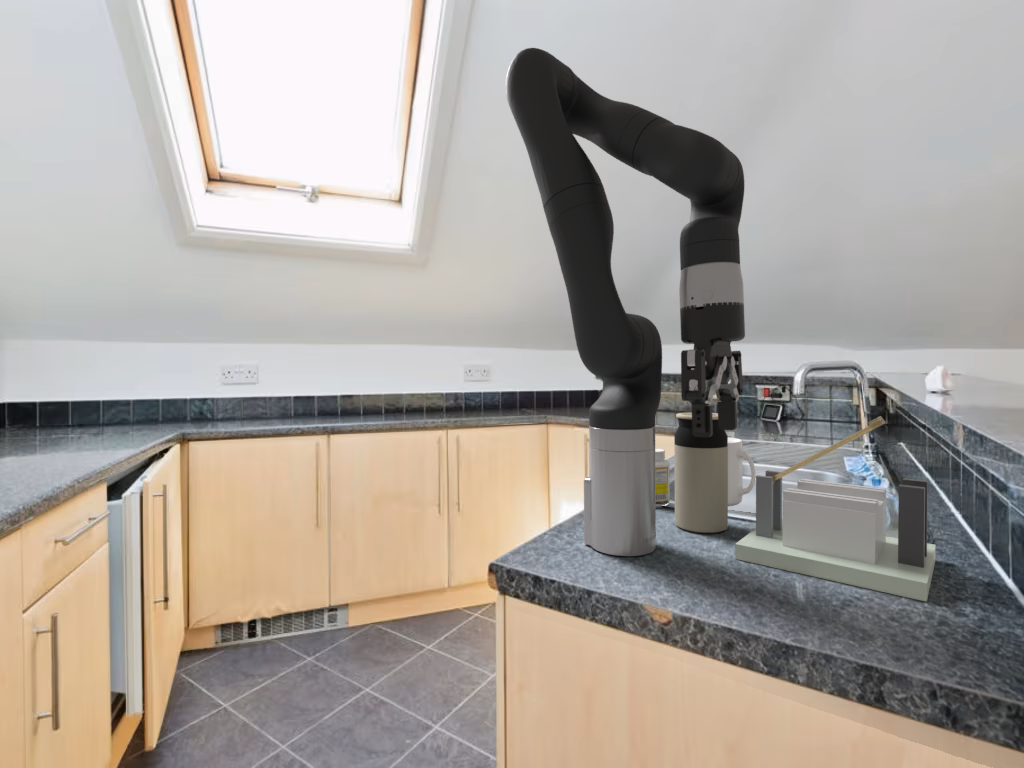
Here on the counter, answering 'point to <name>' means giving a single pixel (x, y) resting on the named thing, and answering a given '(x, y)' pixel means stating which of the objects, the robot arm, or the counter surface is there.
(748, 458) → the mug
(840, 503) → the board
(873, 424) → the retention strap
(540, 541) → the counter surface
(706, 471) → the travel mug
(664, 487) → the supplement bottle
